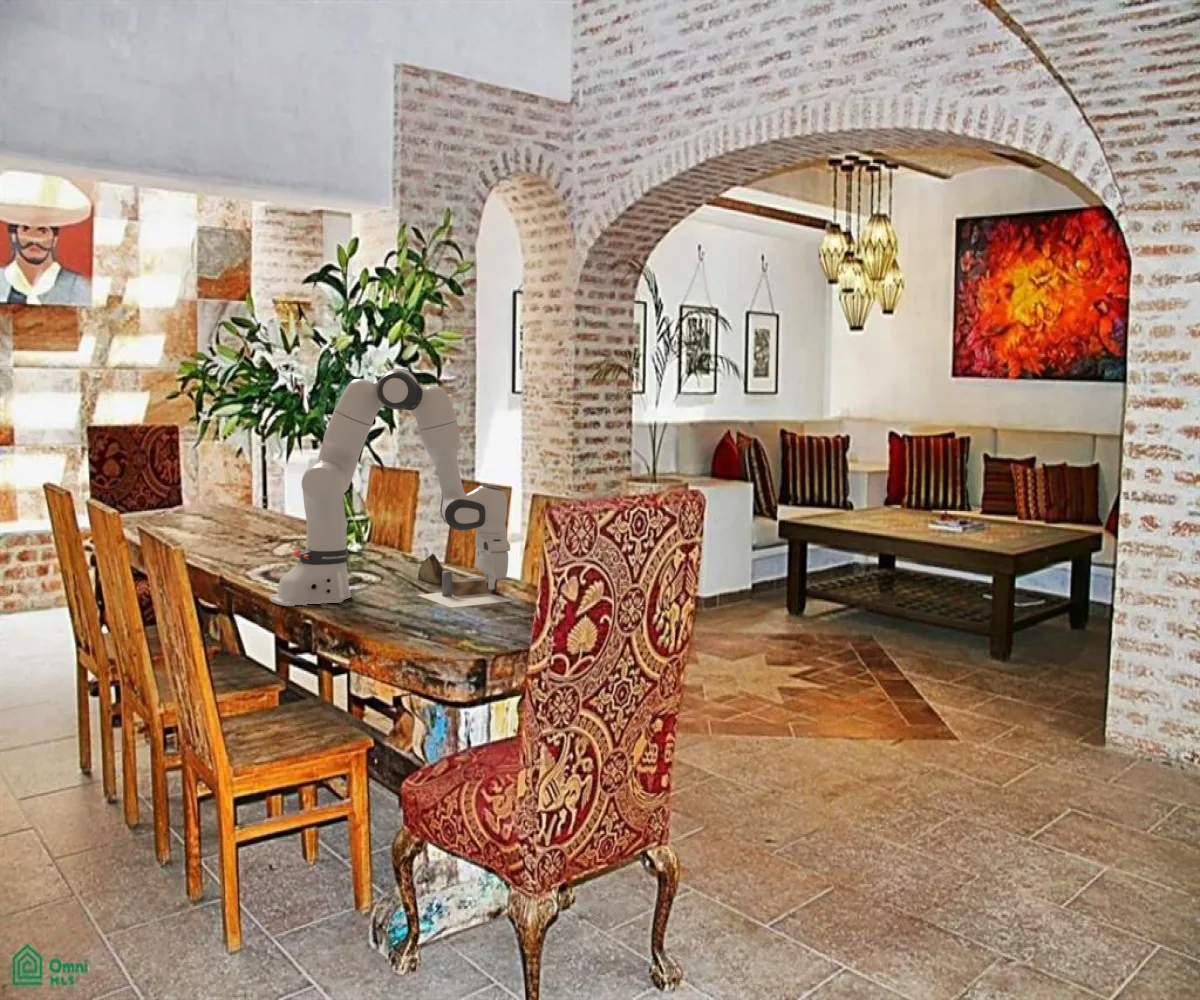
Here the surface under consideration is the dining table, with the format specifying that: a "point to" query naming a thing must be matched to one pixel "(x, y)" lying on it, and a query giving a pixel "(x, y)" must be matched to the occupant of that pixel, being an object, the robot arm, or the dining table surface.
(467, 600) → the wall mounted roll holder
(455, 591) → the leg
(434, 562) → the rock
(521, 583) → the dining table surface
